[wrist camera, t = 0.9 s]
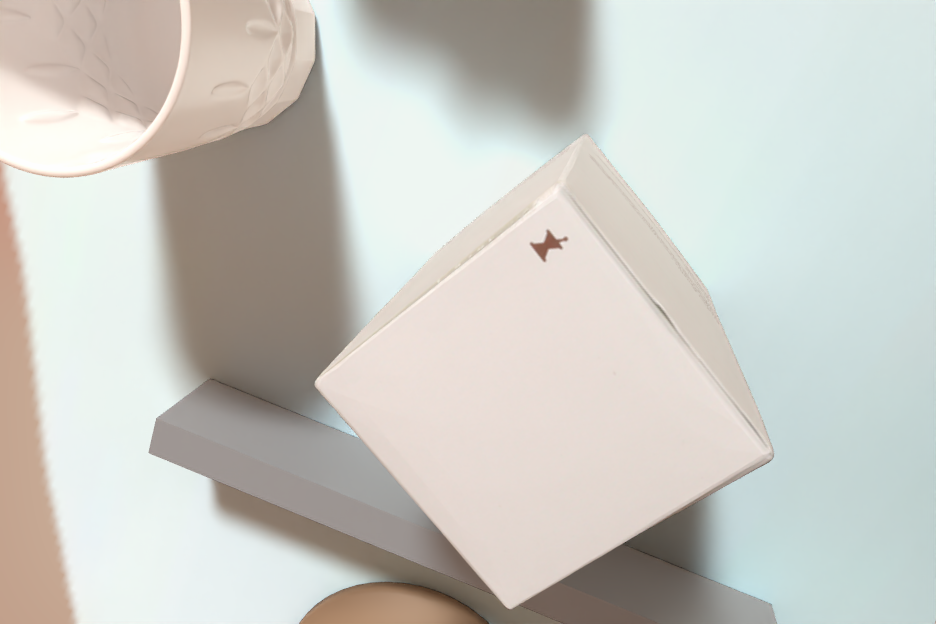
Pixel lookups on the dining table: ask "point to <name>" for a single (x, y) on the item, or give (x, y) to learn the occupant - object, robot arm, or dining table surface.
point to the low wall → (412, 512)
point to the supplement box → (551, 380)
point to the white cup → (142, 77)
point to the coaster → (390, 606)
